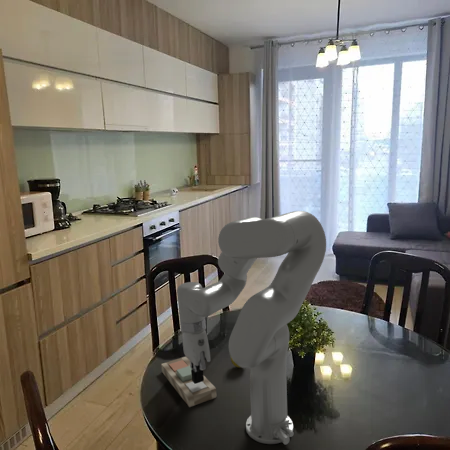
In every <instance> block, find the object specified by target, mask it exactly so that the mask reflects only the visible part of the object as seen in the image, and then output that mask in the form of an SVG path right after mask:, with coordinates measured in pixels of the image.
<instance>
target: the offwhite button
mask: <svg viewBox="0 0 450 450" xmlns="http://www.w3.org/2000/svg"><path fill="white" fill-rule="evenodd" d="M186 387H187V388H188V390H189V391H190V392H191V393H194V392H197V391H200V390H203V389H206V388H207V386H206V385H205V384H204V383H203V382H199V383H196V384H194V382H190V383H187V384H186Z"/></svg>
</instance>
